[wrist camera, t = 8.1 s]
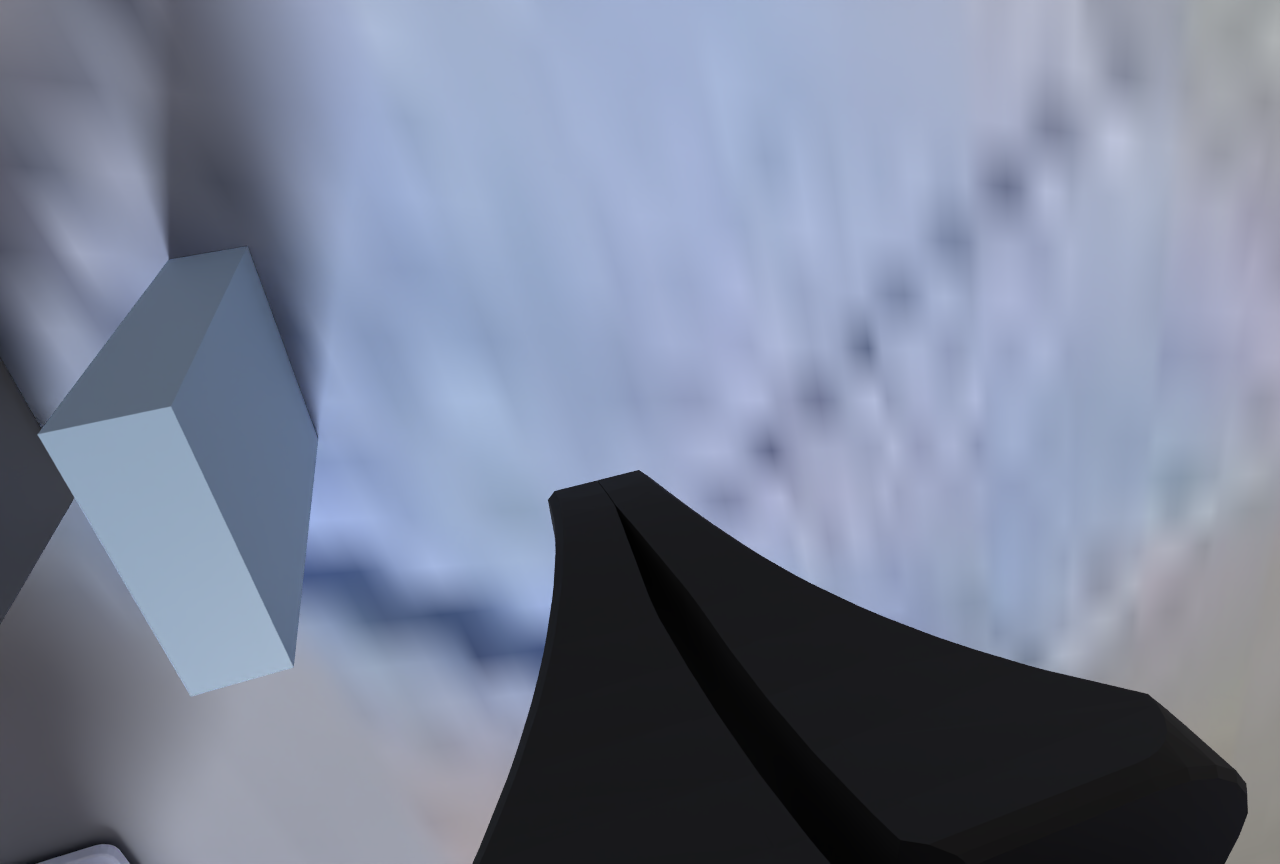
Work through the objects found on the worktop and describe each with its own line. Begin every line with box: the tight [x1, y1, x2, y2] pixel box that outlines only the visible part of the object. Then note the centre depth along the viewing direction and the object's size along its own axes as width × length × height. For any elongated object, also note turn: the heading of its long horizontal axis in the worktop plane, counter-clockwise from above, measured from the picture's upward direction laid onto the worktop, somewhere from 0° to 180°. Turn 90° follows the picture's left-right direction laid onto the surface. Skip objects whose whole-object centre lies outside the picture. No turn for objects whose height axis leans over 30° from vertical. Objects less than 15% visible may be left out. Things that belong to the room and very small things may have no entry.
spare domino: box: [38, 246, 318, 696], centre depth 15 cm, size 5×2×8 cm, turn 6°
